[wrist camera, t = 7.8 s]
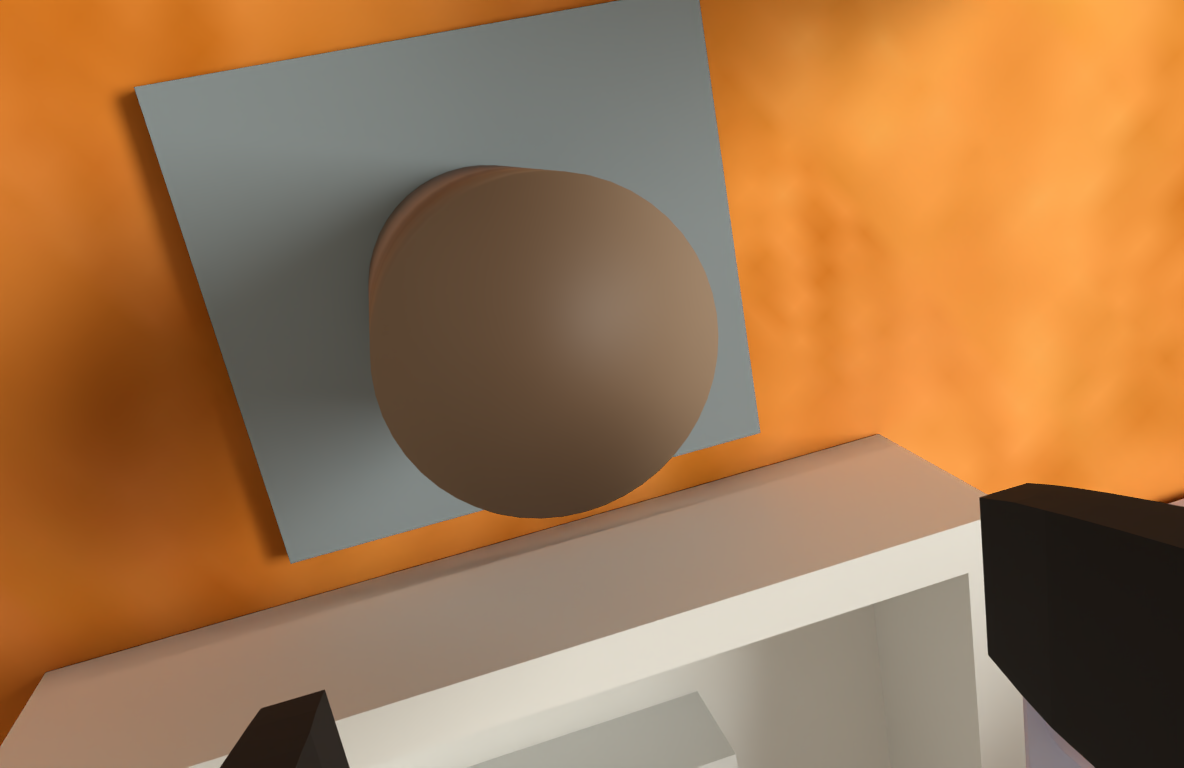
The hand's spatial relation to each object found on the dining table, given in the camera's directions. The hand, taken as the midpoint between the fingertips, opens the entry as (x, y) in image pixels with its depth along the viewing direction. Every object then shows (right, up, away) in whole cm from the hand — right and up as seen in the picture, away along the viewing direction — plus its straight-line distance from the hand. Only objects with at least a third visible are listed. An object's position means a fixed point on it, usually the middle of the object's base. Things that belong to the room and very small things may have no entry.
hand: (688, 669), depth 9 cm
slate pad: (-3, +5, +8) cm, 10 cm away
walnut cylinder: (-3, +5, +8) cm, 10 cm away
